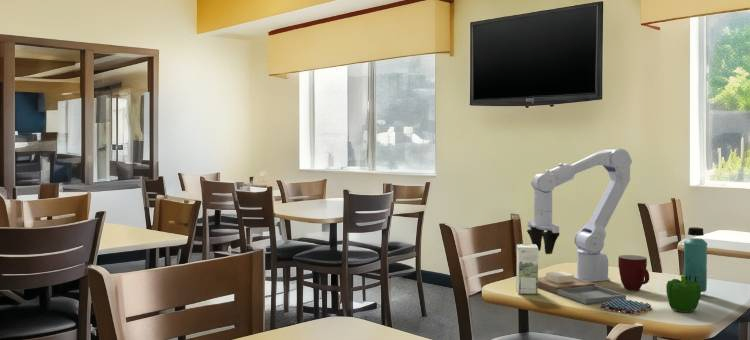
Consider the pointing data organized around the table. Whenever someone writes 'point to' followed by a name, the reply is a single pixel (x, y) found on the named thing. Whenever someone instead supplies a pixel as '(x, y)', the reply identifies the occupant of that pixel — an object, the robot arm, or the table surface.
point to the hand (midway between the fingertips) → (542, 252)
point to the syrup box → (527, 269)
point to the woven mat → (625, 306)
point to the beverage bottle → (695, 258)
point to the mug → (633, 271)
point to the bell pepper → (683, 294)
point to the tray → (590, 294)
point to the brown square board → (561, 284)
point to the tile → (560, 277)
